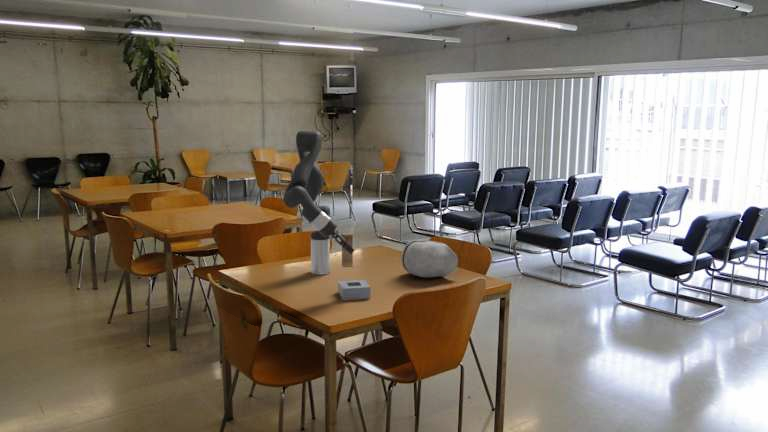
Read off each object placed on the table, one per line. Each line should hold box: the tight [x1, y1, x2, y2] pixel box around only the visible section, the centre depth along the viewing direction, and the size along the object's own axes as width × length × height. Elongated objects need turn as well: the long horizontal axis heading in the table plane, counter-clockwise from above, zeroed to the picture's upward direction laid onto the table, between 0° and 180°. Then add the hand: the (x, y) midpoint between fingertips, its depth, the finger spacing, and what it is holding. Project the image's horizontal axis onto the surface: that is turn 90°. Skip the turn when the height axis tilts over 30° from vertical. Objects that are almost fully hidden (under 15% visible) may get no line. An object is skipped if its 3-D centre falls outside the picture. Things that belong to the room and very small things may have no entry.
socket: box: [337, 279, 371, 301], centre depth 262 cm, size 12×12×5 cm
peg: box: [341, 232, 354, 268], centre depth 259 cm, size 4×4×14 cm
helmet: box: [401, 239, 459, 279], centre depth 295 cm, size 18×25×30 cm
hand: (351, 250), depth 259 cm, fingers closed on peg, 4 cm apart
